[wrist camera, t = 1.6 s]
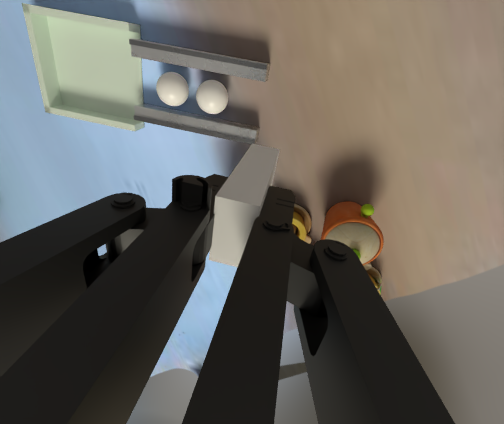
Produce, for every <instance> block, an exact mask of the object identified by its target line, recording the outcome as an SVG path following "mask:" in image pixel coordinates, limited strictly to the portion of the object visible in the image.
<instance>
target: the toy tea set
mask: <svg viewBox="0 0 504 424" xmlns="http://www.w3.org/2000/svg"><path fill="white" fill-rule="evenodd" d="M373 213H374V208H373V206H372V205H370V204H365V205H363V206H361V205H359V204H357V203H355V202H350V201H345V202H340V203H337V204H335V205H334V206H332V207H331V208H330V209H329V210H328V212H327V214H326V217H325V221H324V227H323V232H322V237H321V240H322V239H331V240H336V241H339V242H342V243H344V244H346V245H347V246H348V247H350V248H351V249H353V251H354V252H355V253H356V254H357V256H358V257H359V259H360V261H361V263H362V264H363V266H364V268H365V270H366V271H367V273H368V275H369V276H370V278H371V280H372V282H373V283H374V285H375V287H376V288H377V290H378V292H379V294H380V295H381V283H382V278H381V275H380V273H379V272H378V271H377V270H376V269H375V268H374V267H372V266H371V263H370V262H371V261H373V260H374V259H375V258H376V257H377V256H378V255H379V254H380V252H381V250H382V248H383V235H382V232H381V230H380V229H379V227H378V226H377V225H376V223H375V222H374V221H373V219H372V218H371V217H370V216H371V215H372V214H373ZM292 225H293V228H294V233H295V234H296V235H297V237H299V238H300V239H301V240H303V241H305V242H307V243H309V244H310V243H311V240H312V239H311V237H310V236H309V235H308V233H309V231H310V229H311V217H310V215H309V213H308V212H307V211H306V210H305V209H304V208H302V207H301V206H299V205H296V204H294V213H293V222H292Z"/></svg>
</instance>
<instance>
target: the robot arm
mask: <svg viewBox="0 0 504 424" xmlns="http://www.w3.org/2000/svg"><path fill="white" fill-rule="evenodd" d="M279 151H280V149H276V148H272V147H267V146H262V145H257V144H253V143H252V145H251V146H250V148H249V149H248V150H247V152H246V153H245V155H244V156H243V157H242V159H241V160H240V162H239V163H238V165H237V166H236V167H235V169H234V170H233V172H232V173H231V175H230V176H229V177H225V176H221V175H216V174H213V175H211V176H208V177H206V178H203V177H200V176H194V175H183V176H178V177H176V178H174V179H172V202H171V203H170V204H169V205H168V206H167V207H166V208H146V202H145V200H144V198H143V197H141V196H139V195H136V194H132V193H119V194H113V195H110V196H107V197H105V198H102V199H100V200H98V201H96V202H93V203H91V204H89V205H86V206H84V207H82V208H79V209H77V210H75V211H72V212H70V213H68V214H65V215H63V216H61V217H59V218H56V219H54V220H52V221H49V222H47V223H45V224H42V225H40V226H38V227H35V228H33V229H31V230H28V231H26V232H24V233H22V234H19V235H17V236H15V237H12V238H10V239H8V240H5V241H3V242H1V243H0V424H126V423H127V421H128V419H129V417H130V415H131V413H132V411H133V409H134V407H135V405H136V403H137V401H138V399H139V397H140V395H141V393H142V391H143V389H144V387H145V385H146V383H147V381H148V380H149V378H150V376H151V374H152V372H153V370H154V368H155V366H156V364H157V362H158V360H159V358H160V356H161V354H162V352H163V350H164V348H165V346H166V344H167V342H168V340H169V338H170V336H171V334H172V332H173V330H174V328H175V326H176V324H177V322H178V320H179V318H180V316H181V314H182V312H183V310H184V308H185V306H186V304H187V302H188V300H189V298H190V296H191V294H192V292H193V290H194V288H195V286H196V285H197V283H198V281H199V279H200V277H201V275H202V273H203V271H204V268H205V261H206V256H207V254H208V252H209V250H210V254H209V260H211V261H215V262H219V263H223V264H227V265H231V266H235V267H238V268H237V271H236V274H235V276H234V279H233V282H232V285H231V288H230V290H229V293H228V296H227V299H226V302H225V304H224V307H223V310H222V313H221V316H220V318H219V321H218V324H217V327H216V330H215V332H214V335H213V338H212V341H211V344H210V346H209V349H208V352H207V355H206V358H205V360H204V363H203V366H202V369H201V372H200V374H199V377H198V380H197V383H196V386H195V388H194V391H193V394H192V397H191V400H190V402H189V405H188V408H187V411H186V414H185V417H184V419H183V422H182V424H274V417H275V408H276V398H277V388H278V379H279V369H280V359H281V350H282V339H283V330H284V321H285V311H286V301H288V302H290V303H292V304H294V313H295V318H296V323H297V327H298V331H299V336H300V341H301V345H302V350H303V355H304V359H305V364H306V368H307V373H308V378H309V382H310V387H311V391H312V396H313V400H314V405H315V410H316V414H317V419H318V423H319V424H455V423H454V421H453V419H452V418H451V416H450V414H449V413H448V411H447V409H446V408H445V406H444V404H443V402H442V400H441V399H440V397H439V395H438V394H437V392H436V390H435V389H434V387H433V385H432V383H431V382H430V380H429V378H428V376H427V375H426V373H425V371H424V370H423V368H422V366H421V364H420V363H419V361H418V359H417V357H416V356H415V354H414V352H413V351H412V349H411V347H410V345H409V344H408V342H407V340H406V338H405V337H404V335H403V333H402V332H401V330H400V328H399V327H398V325H397V323H396V321H395V320H394V318H393V316H392V314H391V313H390V311H389V309H388V308H387V306H386V304H385V302H384V301H383V299H382V297H381V295H380V294H379V292H378V290H377V288H376V287H375V285H374V283H373V282H372V280H371V278H370V276H369V275H368V273H367V271H366V270H365V268H364V266H363V264H362V263H361V261H360V259H359V257H358V256H357V254H356V253H355V252H354V251H353V249H351V248H350V247H348V246H347V245H346V244H344V243H342V242H339V241H336V240H331V239H322V240H320V241H317V242H316V244H315V245H314V246H313V245H311V244H309V243H307V242H305V241H303V240H301V239H300V238H299V237H297V235H296V234H295V233H294V228H293V225H292V222H293V213H294V203H295V195H294V194H293V192H292V191H291V190H287V189H282V188H278V187H274V186H272V184H273V179H274V175H275V170H276V165H277V161H278V156H279ZM104 244H106V249H107V253H105V254H104V255H101V256H99V255H98V251H97V248H99V247H101V246H102V245H104Z"/></svg>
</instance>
